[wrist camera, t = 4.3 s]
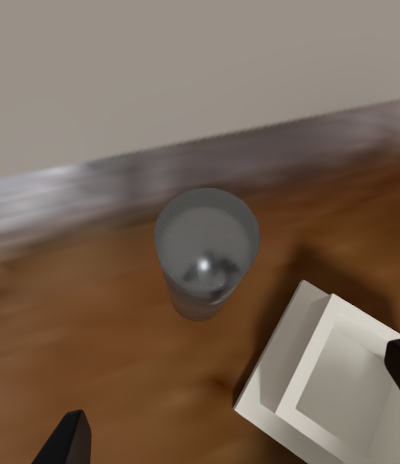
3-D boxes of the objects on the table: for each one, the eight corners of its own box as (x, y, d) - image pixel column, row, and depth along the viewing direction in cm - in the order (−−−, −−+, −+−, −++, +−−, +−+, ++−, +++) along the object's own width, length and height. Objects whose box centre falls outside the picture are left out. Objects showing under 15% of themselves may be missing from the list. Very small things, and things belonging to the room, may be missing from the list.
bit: (234, 285, 23) (278, 220, 12) (206, 332, 22) (224, 308, 11) (190, 257, 24) (192, 171, 13) (160, 300, 22) (132, 247, 11)
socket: (427, 359, 22) (481, 360, 18) (376, 512, 18) (429, 556, 14) (299, 281, 23) (323, 266, 19) (232, 408, 20) (243, 421, 16)
